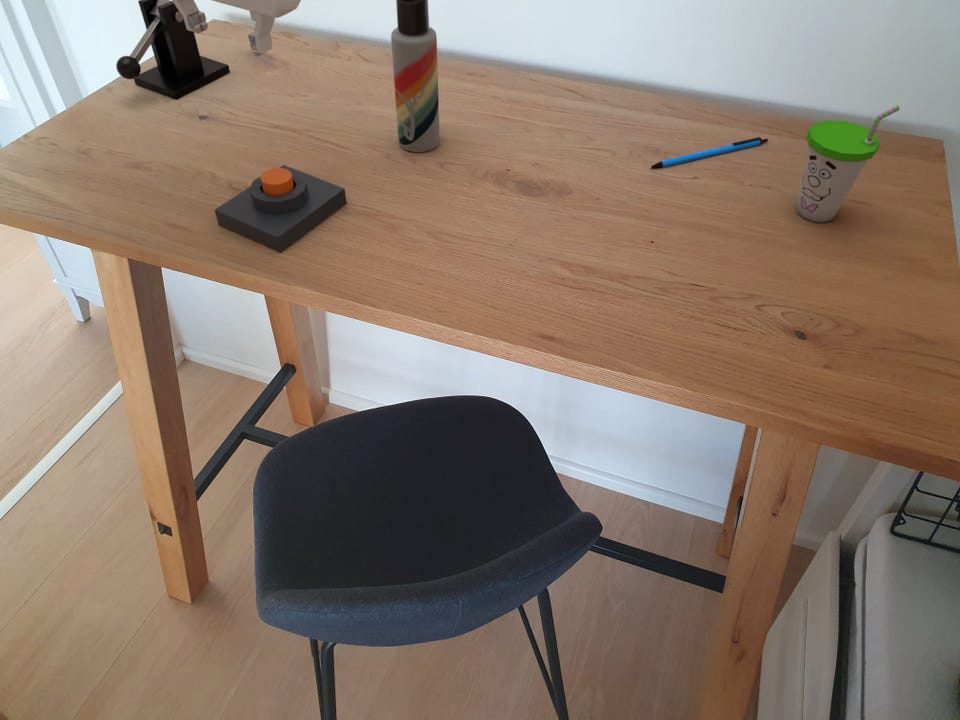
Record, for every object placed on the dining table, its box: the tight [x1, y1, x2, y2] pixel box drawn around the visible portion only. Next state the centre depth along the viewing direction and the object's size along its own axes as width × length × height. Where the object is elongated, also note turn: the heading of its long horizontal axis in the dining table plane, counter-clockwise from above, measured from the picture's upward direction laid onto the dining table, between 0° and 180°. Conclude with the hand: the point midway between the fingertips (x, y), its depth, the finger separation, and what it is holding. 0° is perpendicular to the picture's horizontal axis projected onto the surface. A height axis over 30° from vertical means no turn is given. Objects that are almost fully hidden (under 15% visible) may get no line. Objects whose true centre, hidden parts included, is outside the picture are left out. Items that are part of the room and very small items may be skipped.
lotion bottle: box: [390, 0, 440, 153], centre depth 99 cm, size 6×6×20 cm
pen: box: [649, 136, 769, 169], centre depth 104 cm, size 1×19×1 cm, turn 113°
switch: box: [115, 0, 171, 81], centre depth 111 cm, size 13×3×3 cm
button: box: [260, 167, 294, 196], centre depth 91 cm, size 4×4×2 cm
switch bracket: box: [133, 0, 231, 100], centre depth 115 cm, size 11×9×12 cm
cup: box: [795, 105, 900, 224], centre depth 90 cm, size 8×8×15 cm
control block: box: [214, 164, 348, 253], centre depth 92 cm, size 12×10×4 cm
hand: (229, 40), depth 82 cm, fingers open, 8 cm apart
